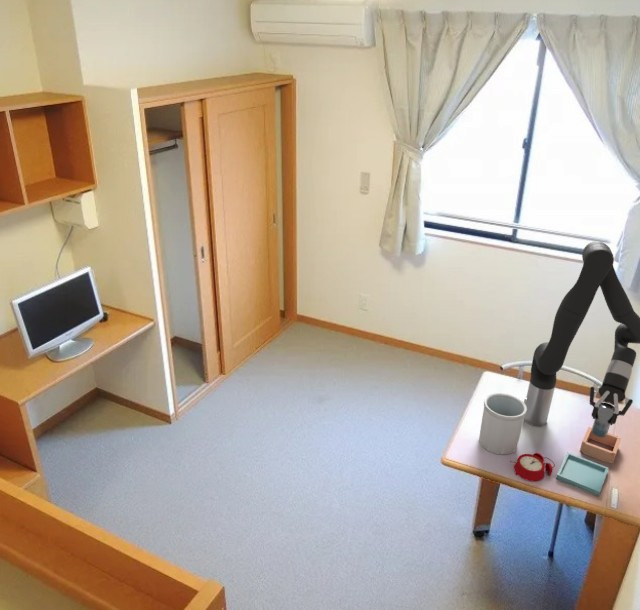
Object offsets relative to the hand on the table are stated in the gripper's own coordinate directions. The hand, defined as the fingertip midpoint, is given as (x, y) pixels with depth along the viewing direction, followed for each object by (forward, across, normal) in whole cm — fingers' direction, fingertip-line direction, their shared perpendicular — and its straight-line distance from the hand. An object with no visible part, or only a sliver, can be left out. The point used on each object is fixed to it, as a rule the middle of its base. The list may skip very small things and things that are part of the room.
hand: (602, 421), depth 201 cm
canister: (+3, 0, +6) cm, 6 cm away
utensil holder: (+19, -31, +10) cm, 38 cm away
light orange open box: (+6, +1, +22) cm, 23 cm away
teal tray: (+19, -1, +10) cm, 21 cm away
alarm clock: (+24, -16, +5) cm, 29 cm away
